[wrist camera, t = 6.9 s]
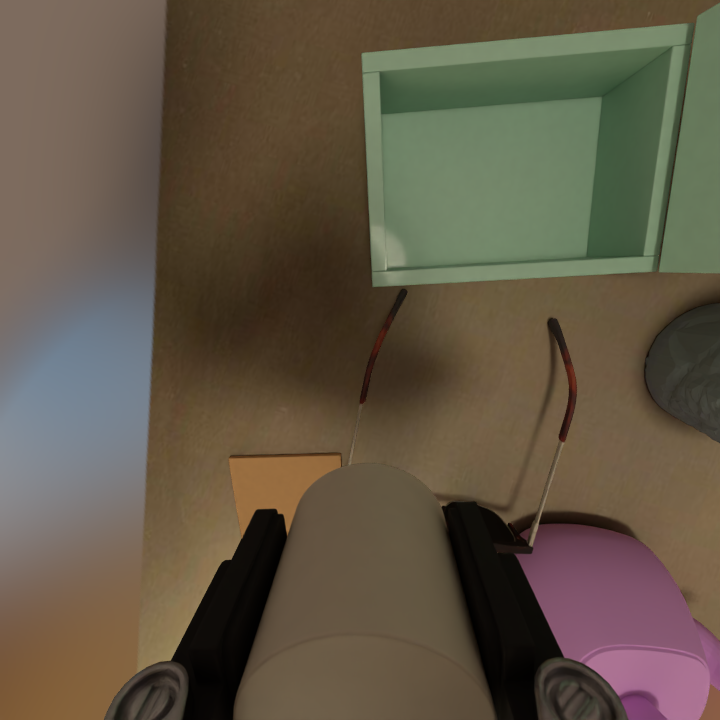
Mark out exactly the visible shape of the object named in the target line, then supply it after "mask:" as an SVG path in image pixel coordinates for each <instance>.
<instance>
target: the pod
mask: <svg viewBox="0 0 720 720" xmlns="http://www.w3.org/2000/svg"><path fill="white" fill-rule="evenodd" d="M233 720H497V715H496V711H495V707H494V703H493V700H492V696H491V692H490V688H489V684H488V681H487V677H486V673H485V669H484V665H483V662H482V658H481V654H480V650H479V646H478V643H477V639H476V635H475V631H474V627H473V624H472V620H471V616H470V612H469V608H468V605H467V601H466V597H465V593H464V589H463V586H462V582H461V578H460V574H459V570H458V567H457V563H456V559H455V555H454V551H453V548H452V544H451V540H450V536H449V532H448V529H447V525H446V521H445V517H444V513H443V510H442V508H441V506H440V503H439V502H438V500H437V498H436V497H435V495H434V494H433V493H432V492H431V490H430V489H429V488H428V487H427V486H426V485H425V484H423V483H422V482H421V481H420V480H418V479H417V478H416V477H414V476H413V475H411V474H409V473H407V472H405V471H403V470H400V469H398V468H395V467H392V466H388V465H383V464H376V463H360V464H352V465H347V466H343V467H340V468H338V469H335V470H333V471H331V472H329V473H327V474H325V475H323V476H322V477H320V478H319V479H318V480H316V481H315V482H314V483H313V484H312V485H311V486H310V487H309V488H308V489H307V490H306V492H305V493H304V494H303V496H302V498H301V499H300V501H299V503H298V506H297V508H296V511H295V514H294V517H293V520H292V523H291V527H290V530H289V533H288V536H287V539H286V542H285V545H284V548H283V551H282V555H281V558H280V561H279V564H278V567H277V570H276V573H275V576H274V579H273V583H272V586H271V589H270V592H269V595H268V598H267V601H266V604H265V607H264V610H263V614H262V617H261V620H260V623H259V626H258V629H257V632H256V635H255V638H254V642H253V645H252V648H251V651H250V654H249V657H248V660H247V663H246V666H245V670H244V673H243V676H242V679H241V682H240V685H239V688H238V691H237V694H236V699H235V703H234V711H233Z"/></svg>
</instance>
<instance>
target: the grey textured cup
mask: <svg viewBox="0 0 720 720" xmlns="http://www.w3.org/2000/svg"><path fill="white" fill-rule="evenodd" d="M646 366H647V367H646V369H645V372H646V375H645V378H646V382H647V385H648V389H649V391H650V393H651V395H652V397H653V399H654V400H655V401H656V403H657V404H658V405H659V406H660V407H661V408H662V409H664V410H665V411H666V412H668V413H669V414H671V415H673V416H674V417H676V418H678V419H680V420H681V421H683V422H685V423H686V424H688V425H691V426H693V427H694V428H696V429H697V430H699V431H700V432H703V433H705V434H707V435H708V436H709V437H710V438H712V439H713V440H715V441H717V442H719V443H720V303H716V304H709V305H705V306H701V307H698V308H695V309H693V310H691V311H688V312H686V313H684V314H683V315H681V316H680V317H678V318H676V319H675V320H674V321H673V322H671V323H670V324H669V325H668V326H667V327H666V328H665V329H664V330H663V331H662V332H661V333H660V334H659V335H658V336H657V338H656V340H655V342H654V344H653V345H652V347H651V349H650V351H649V356H648V357H647V358H646Z"/></svg>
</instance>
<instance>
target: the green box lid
mask: <svg viewBox="0 0 720 720" xmlns="http://www.w3.org/2000/svg"><path fill="white" fill-rule="evenodd" d="M659 272H674V273H720V3H719V4H717V5H715V6H713V7H712V8H710V9H708V10H707V11H705V12H703V13H702V14H700V15H698V17H697V23H696V29H695V36H694V42H693V49H692V55H691V62H690V69H689V75H688V82H687V88H686V95H685V101H684V108H683V115H682V121H681V128H680V134H679V141H678V147H677V154H676V161H675V167H674V174H673V180H672V187H671V193H670V200H669V207H668V213H667V220H666V226H665V233H664V239H663V246H662V253H661V259H660V266H659Z"/></svg>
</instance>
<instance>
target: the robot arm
mask: <svg viewBox="0 0 720 720" xmlns="http://www.w3.org/2000/svg"><path fill="white" fill-rule="evenodd" d="M448 518H449V536H450V540H451V544H452V548H453V551H454V555H455V559H456V563H457V567H458V570H459V574H460V578H461V582H462V586H463V589H464V593H465V597H466V601H467V605H468V608H469V612H470V616H471V620H472V624H473V627H474V631H475V635H476V639H477V643H478V646H479V650H480V654H481V658H482V662H483V665H484V669H485V673H486V677H487V681H488V684H489V688H490V692H491V696H492V700H493V703H494V707H495V711H496V715H497V720H628V717H627V714H626V711H625V709H624V706H623V704H622V702H621V700H620V698H619V696H618V695H617V693H616V692H615V691H614V689H613V688H612V687H611V685H610V684H609V683H608V682H607V681H606V680H605V679H604V678H603V677H602V676H601V675H600V674H598V673H597V672H596V671H595V670H593V669H591V668H590V667H588V666H587V665H585V664H583V663H581V662H578V661H575V660H573V659H570V658H564V656H563V654H562V651H561V649H560V647H559V645H558V643H557V641H556V639H555V637H554V634H553V632H552V630H551V628H550V626H549V624H548V622H547V620H546V617H545V615H544V613H543V611H542V609H541V607H540V605H539V603H538V600H537V598H536V596H535V594H534V592H533V590H532V588H531V586H530V584H529V581H528V579H527V577H526V575H525V573H524V571H523V569H522V567H521V564H520V562H519V560H518V558H517V557H516V555H515V554H514V553H497V551H496V548H495V546H494V544H493V541H492V539H491V536H490V534H489V531H488V529H487V527H486V524H485V522H484V519H483V517H482V514H481V512H480V509H479V507H478V505H477V503H476V502H456V503H455V508H449V510H448ZM286 539H287V532H286V525H285V518H284V515H283V514H278V511H277V509H257V510H256V511H255V512H254V514H253V516H252V518H251V520H250V523H249V525H248V527H247V529H246V531H245V533H244V535H243V537H242V539H241V541H240V543H239V545H238V547H237V549H236V551H235V553H234V556H233V558H232V560H225V561H223V562H222V563H221V565H220V566H219V568H218V570H217V572H216V574H215V576H214V578H213V580H212V582H211V584H210V585H209V587H208V589H207V591H206V593H205V595H204V597H203V599H202V601H201V603H200V605H199V607H198V609H197V611H196V613H195V615H194V617H193V619H192V621H191V622H190V624H189V626H188V628H187V630H186V632H185V634H184V636H183V638H182V640H181V642H180V644H179V646H178V648H177V650H176V652H175V654H174V656H173V658H172V659H171V661H164V662H158V663H156V664H153V665H151V666H148V667H146V668H145V669H143V670H142V671H140V672H139V673H137V674H136V675H135V676H133V677H132V678H131V679H130V680H129V681H128V682H127V683H126V684H125V685H124V686H123V687H122V688H121V690H120V691H119V692H118V693H117V695H116V696H115V697H114V699H113V701H112V703H111V705H110V707H109V709H108V711H107V713H106V716H105V718H104V720H233V711H234V703H235V699H236V694H237V691H238V688H239V685H240V682H241V679H242V676H243V673H244V670H245V666H246V663H247V660H248V657H249V654H250V651H251V648H252V645H253V642H254V638H255V635H256V632H257V629H258V626H259V623H260V620H261V617H262V614H263V610H264V607H265V604H266V601H267V598H268V595H269V592H270V589H271V586H272V583H273V579H274V576H275V573H276V570H277V567H278V564H279V561H280V558H281V555H282V551H283V548H284V545H285V542H286Z"/></svg>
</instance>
